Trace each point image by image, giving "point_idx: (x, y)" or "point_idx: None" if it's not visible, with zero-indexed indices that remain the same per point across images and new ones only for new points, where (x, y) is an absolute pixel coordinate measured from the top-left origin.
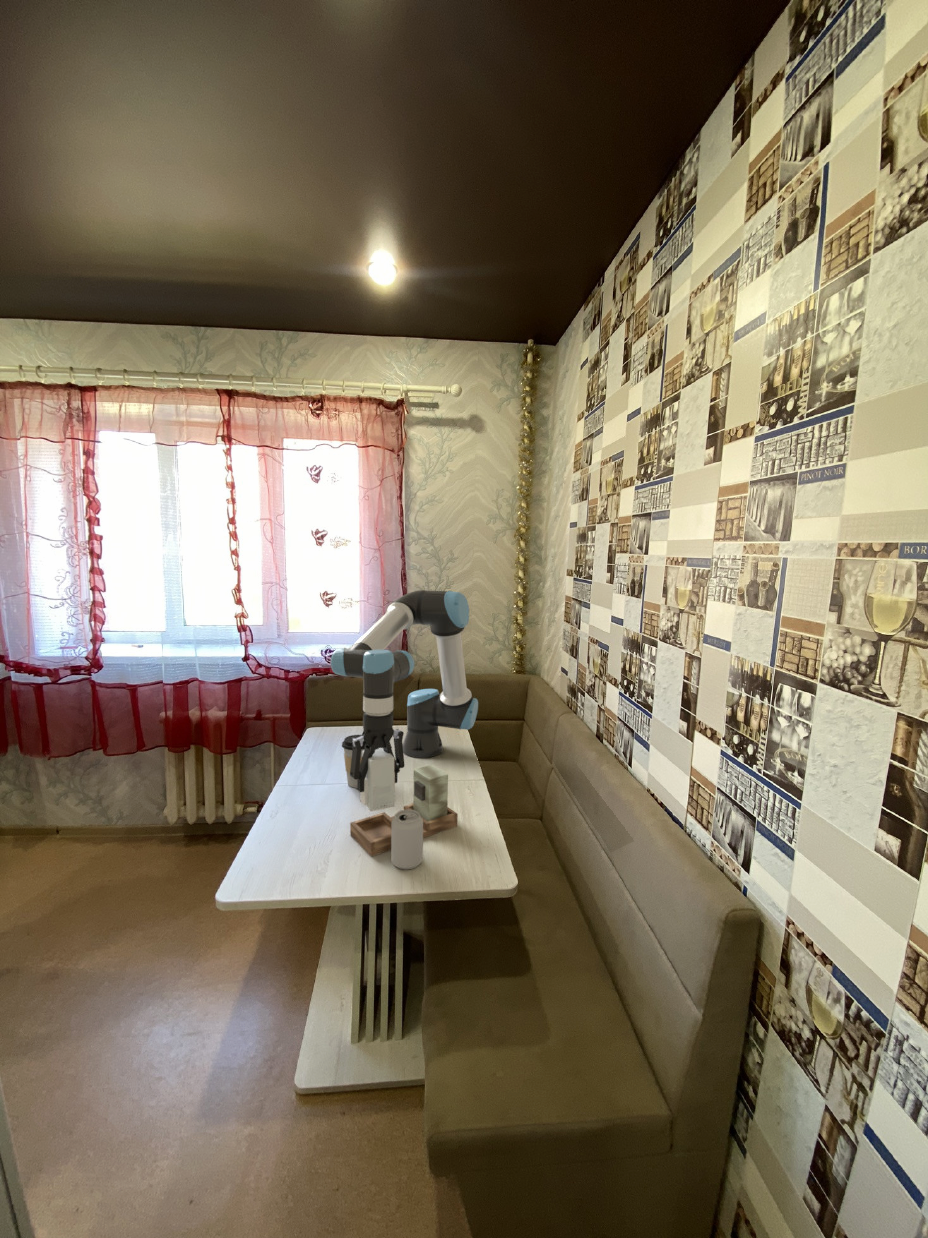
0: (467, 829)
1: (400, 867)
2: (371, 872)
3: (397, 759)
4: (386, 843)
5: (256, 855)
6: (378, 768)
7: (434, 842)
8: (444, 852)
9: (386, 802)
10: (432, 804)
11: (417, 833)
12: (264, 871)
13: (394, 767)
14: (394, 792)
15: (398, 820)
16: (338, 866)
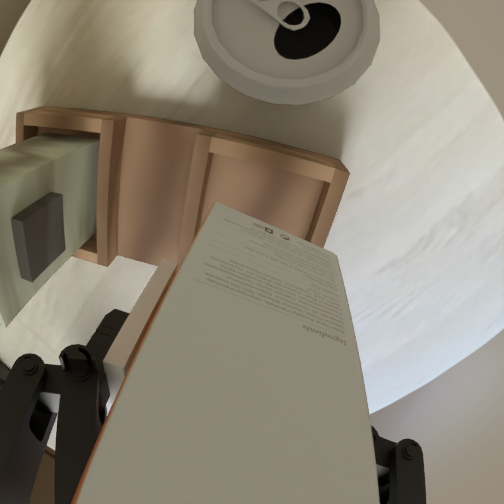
0: (36, 75)
1: (334, 33)
2: (396, 102)
3: (39, 426)
4: (286, 150)
5: (456, 354)
6: (310, 480)
7: (138, 73)
8: (158, 11)
9: (255, 233)
10: (45, 156)
11: None
12: (492, 305)
13: (86, 397)
14: (155, 274)
15: (372, 14)
16: (426, 201)
